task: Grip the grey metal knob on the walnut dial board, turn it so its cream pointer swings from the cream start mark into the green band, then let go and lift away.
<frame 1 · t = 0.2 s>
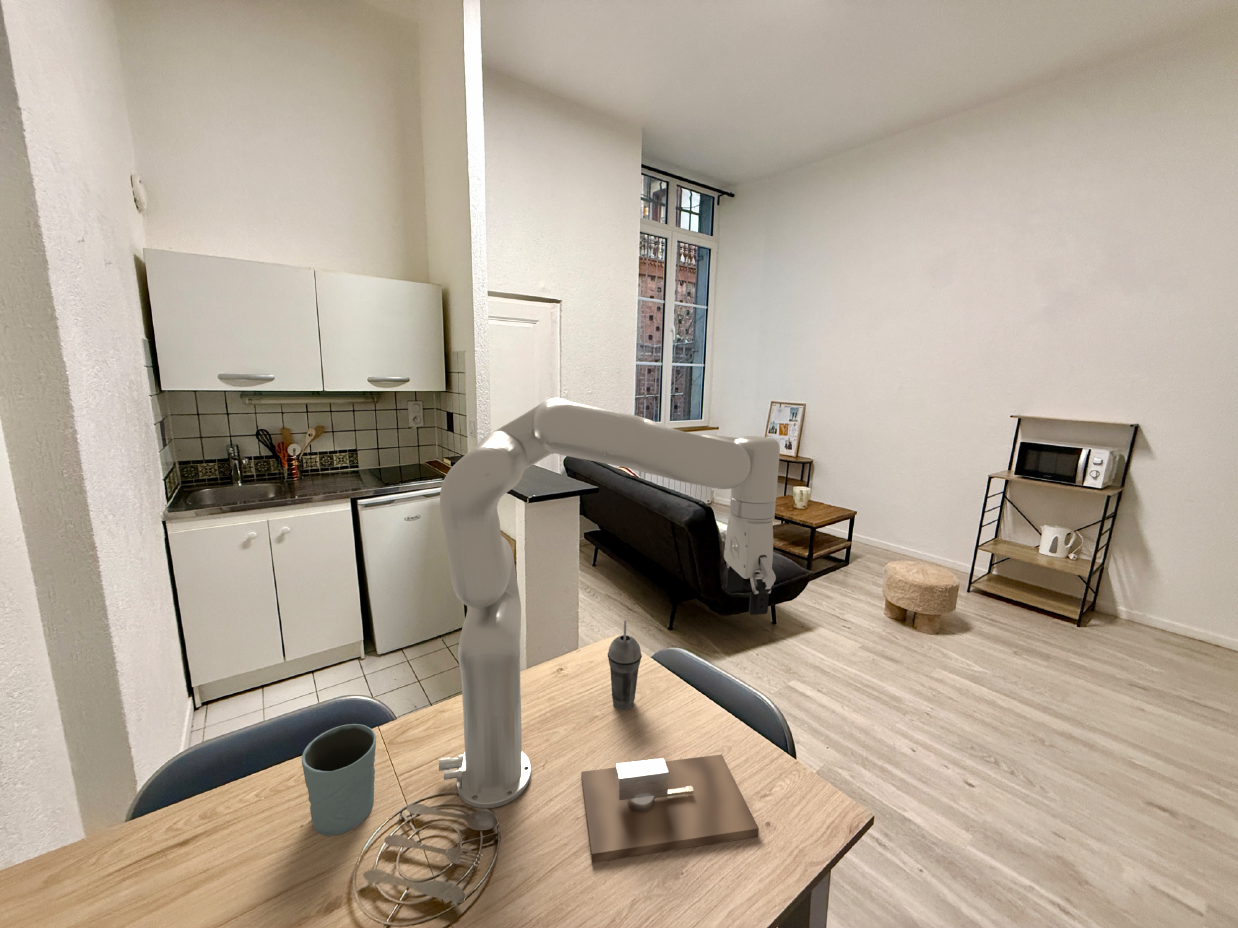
hand: (745, 600, 87), 31 cm above the table, tool pointing down, fingers open, 9 cm apart
dial board: (664, 805, 80), on the table
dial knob: (655, 781, 79), point 5 cm above the table, hinge at 0.0°
blue-grey open cylinder: (346, 812, 78), on the table
beverage cup: (623, 704, 105), on the table
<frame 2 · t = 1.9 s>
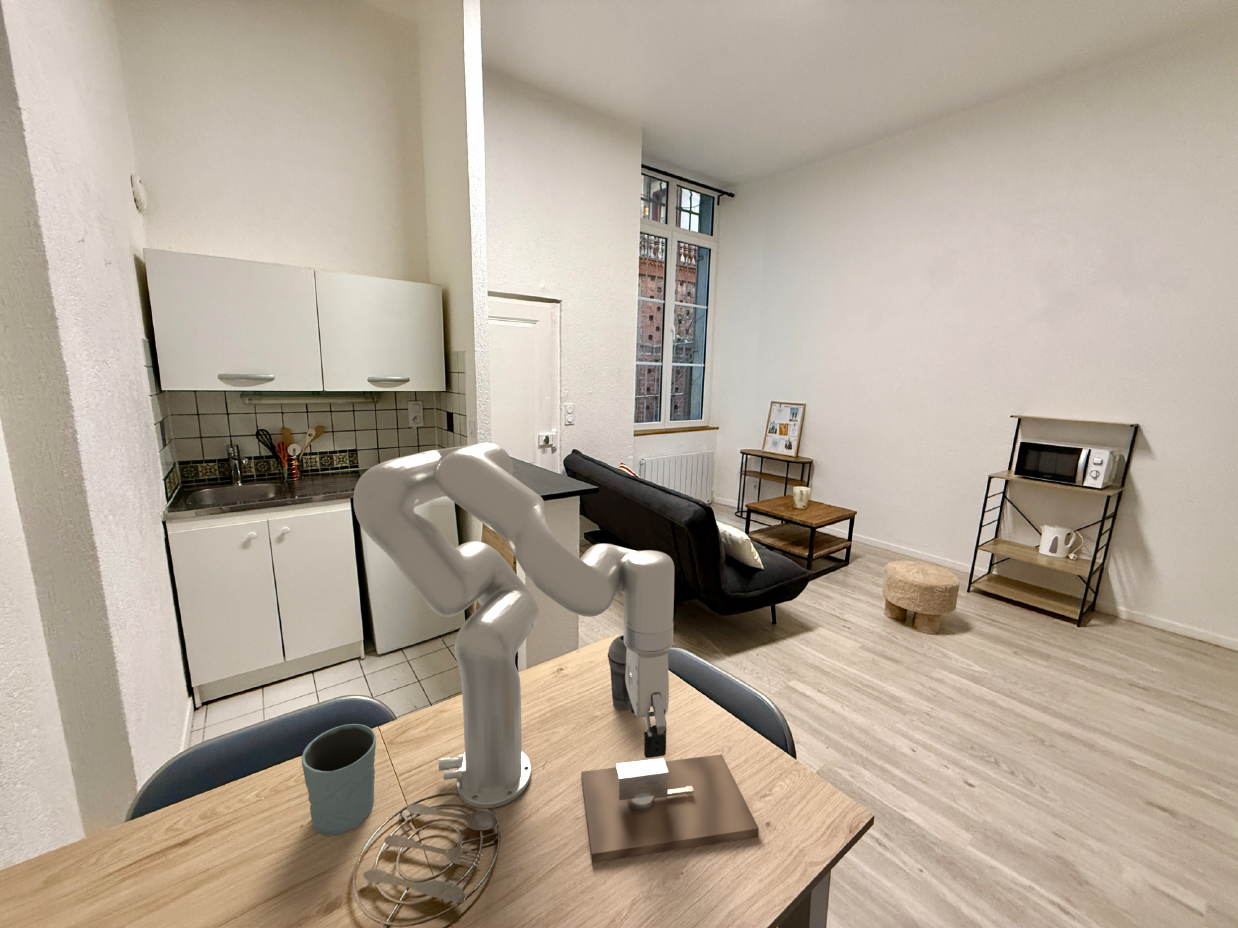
hand: (647, 732, 77), 14 cm above the table, tool pointing down, fingers open, 9 cm apart
nothing on the table moved.
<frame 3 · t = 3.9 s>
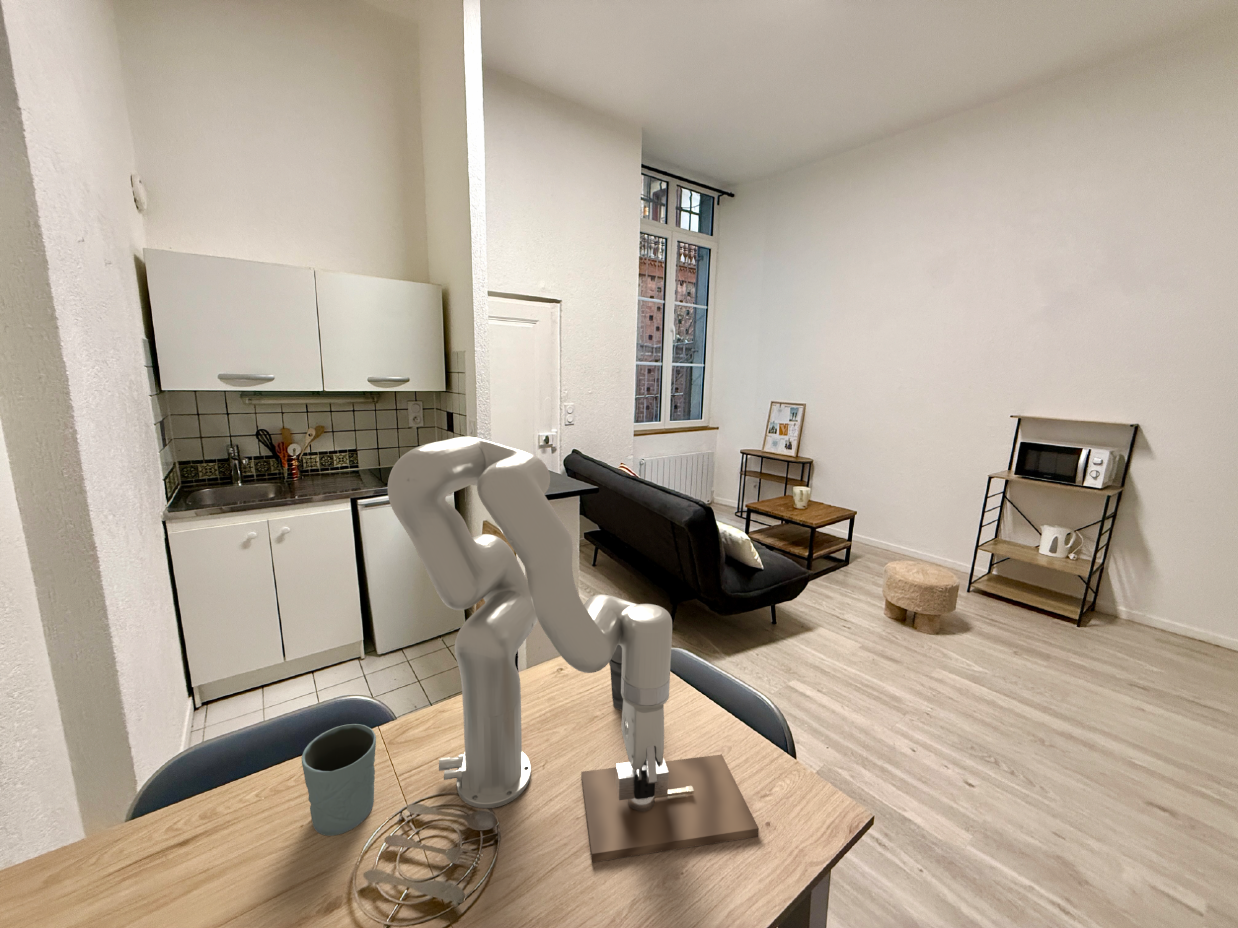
hand: (641, 785, 79), 5 cm above the table, tool pointing down, fingers closed on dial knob, 3 cm apart
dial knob: (655, 781, 79), point 5 cm above the table, hinge at 0.0°, touching gripper
everything else where it was.
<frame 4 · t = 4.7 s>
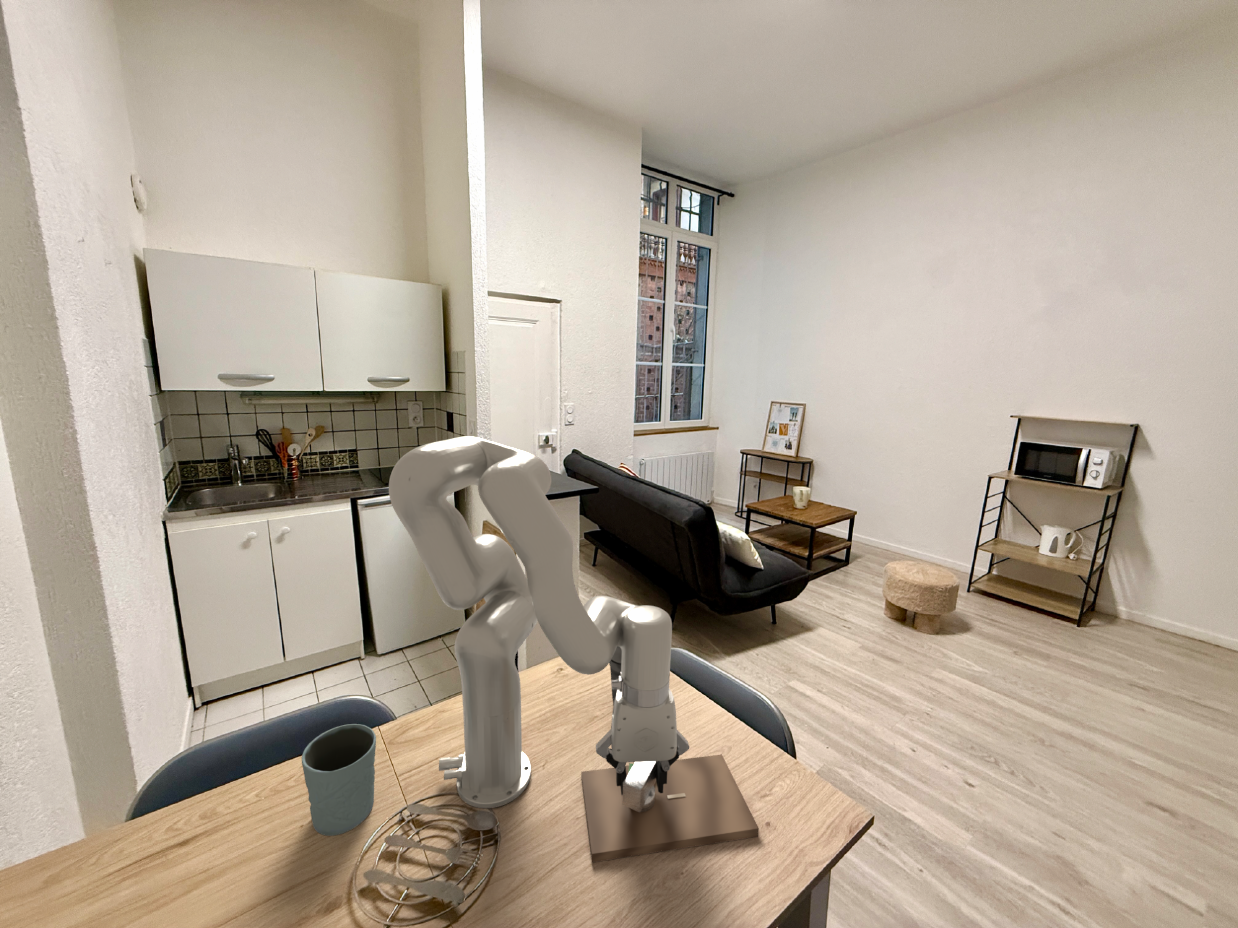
hand: (641, 785, 79), 5 cm above the table, tool pointing down, fingers closed on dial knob, 5 cm apart
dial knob: (647, 773, 81), point 5 cm above the table, hinge at 53.6°, touching gripper
everything else where it was.
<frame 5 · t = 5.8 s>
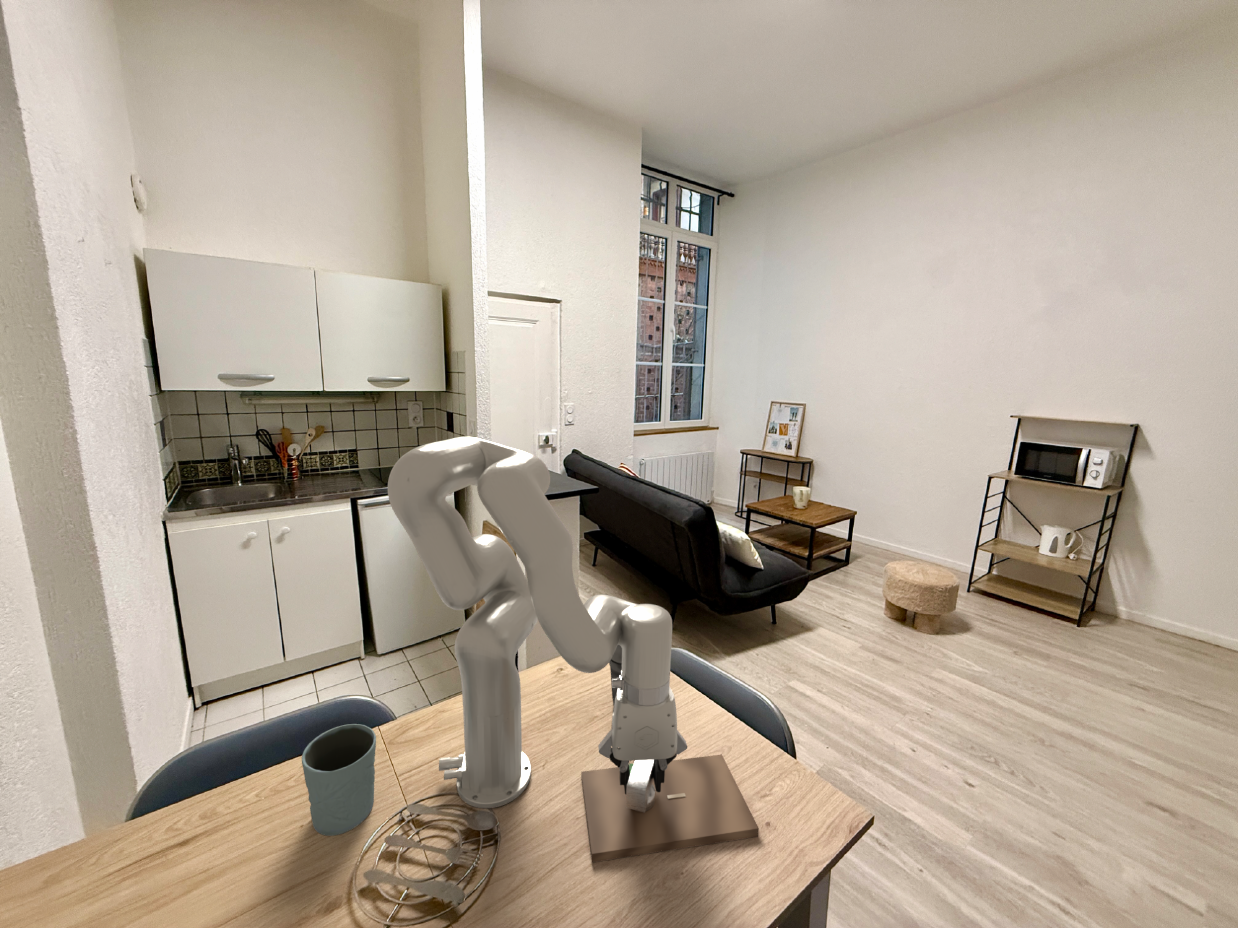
hand: (641, 784, 79), 5 cm above the table, tool pointing down, fingers closed on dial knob, 4 cm apart
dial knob: (645, 772, 81), point 5 cm above the table, hinge at 63.5°, touching gripper
everything else where it was.
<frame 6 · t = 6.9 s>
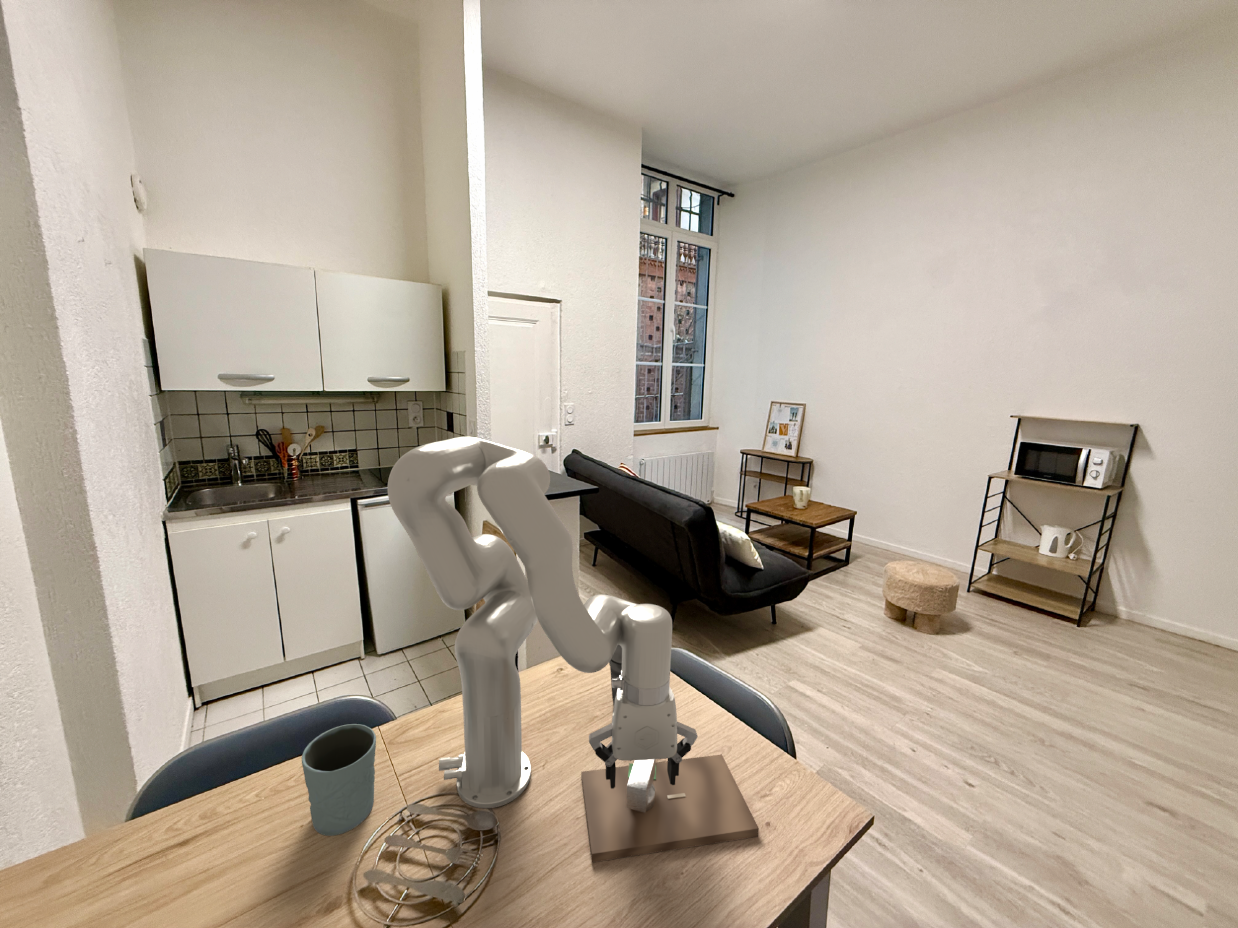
hand: (641, 779, 79), 6 cm above the table, tool pointing down, fingers open, 9 cm apart
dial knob: (644, 772, 81), point 5 cm above the table, hinge at 64.6°
everything else where it was.
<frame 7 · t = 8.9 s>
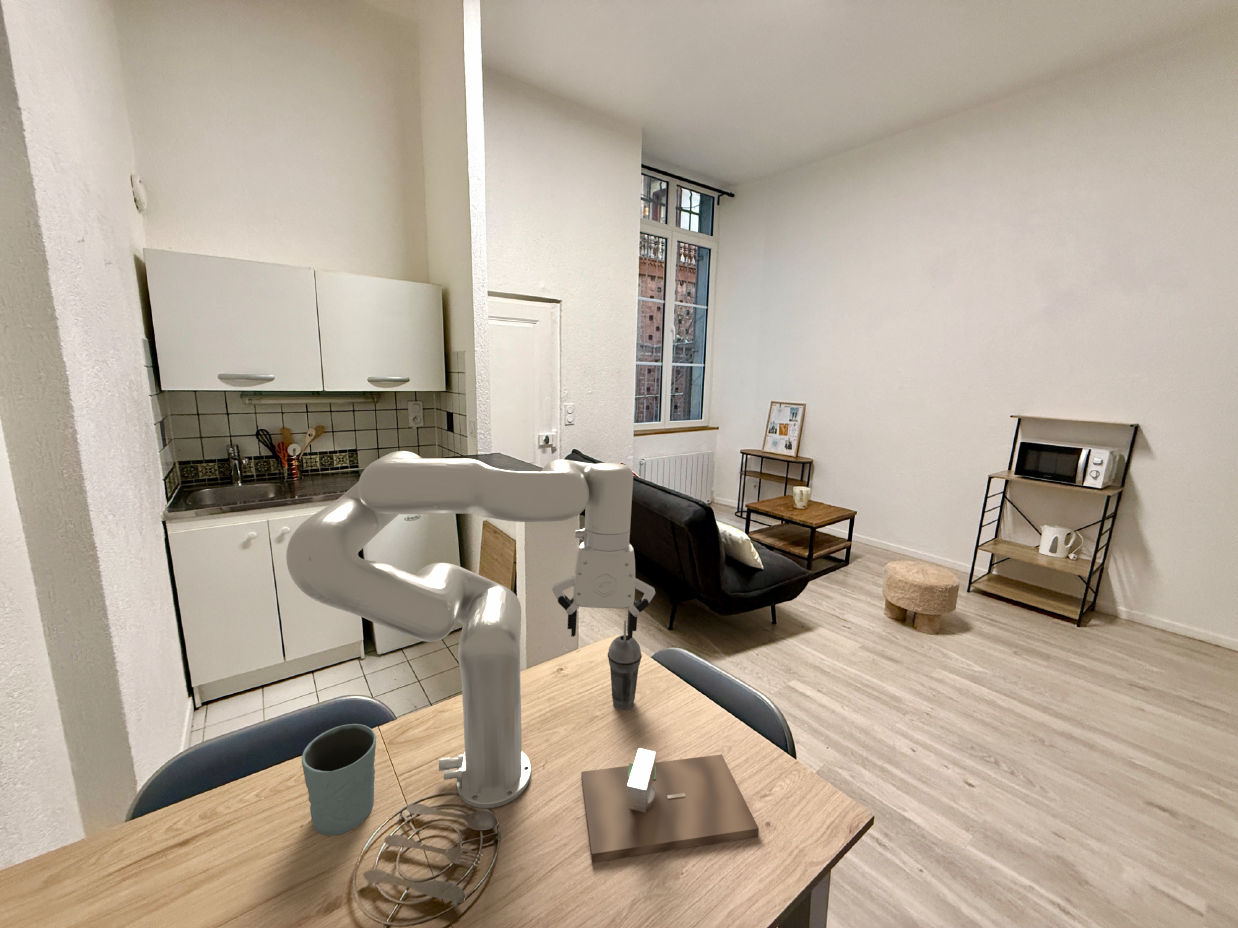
hand: (601, 633, 83), 26 cm above the table, tool pointing down, fingers open, 9 cm apart
nothing on the table moved.
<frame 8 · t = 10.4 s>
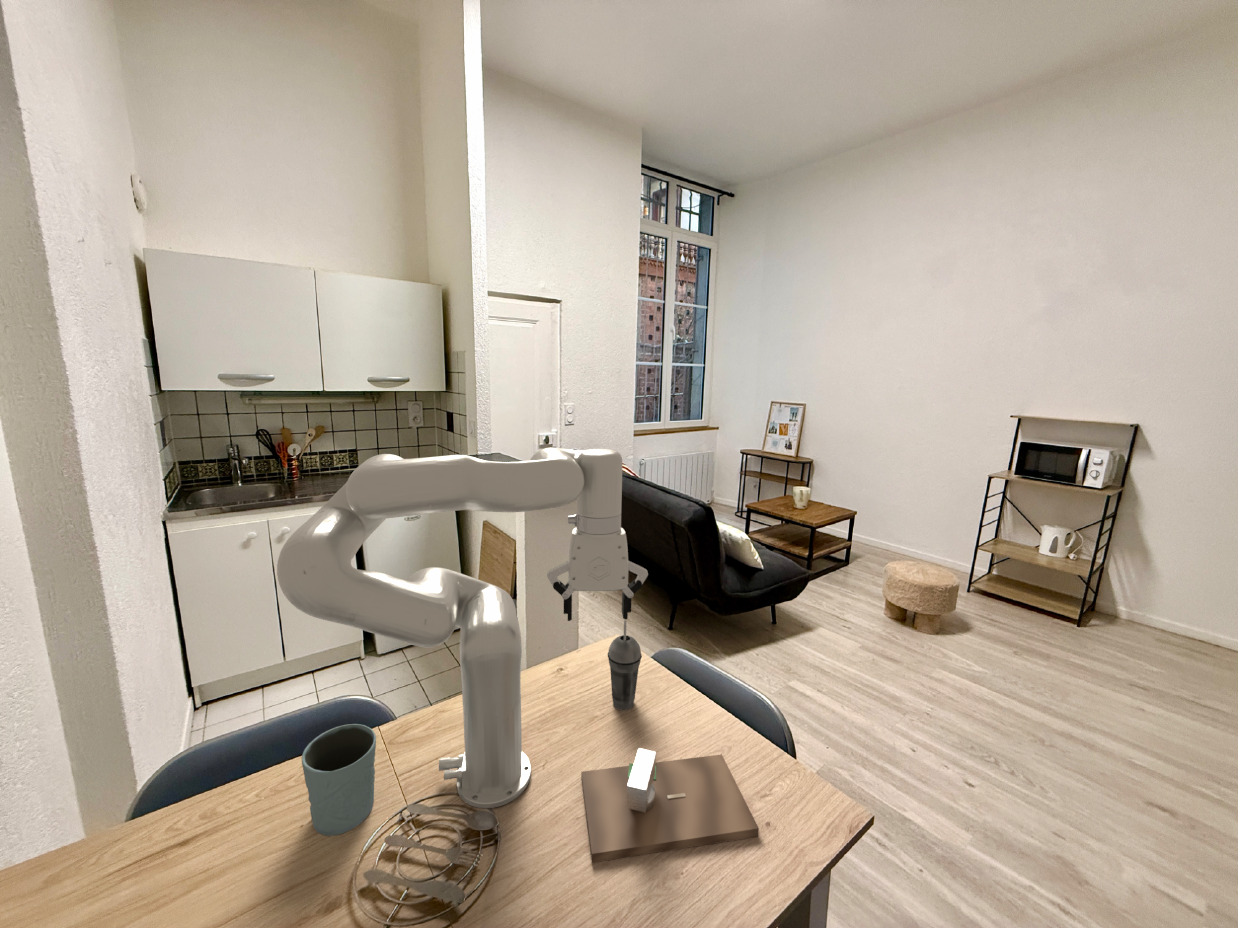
hand: (597, 616, 85), 28 cm above the table, tool pointing down, fingers open, 9 cm apart
nothing on the table moved.
at the end: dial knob at +65° (first picture: +0°) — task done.
